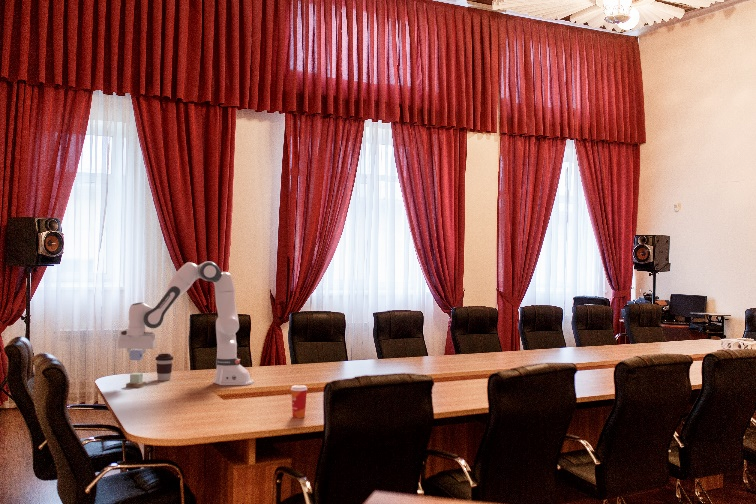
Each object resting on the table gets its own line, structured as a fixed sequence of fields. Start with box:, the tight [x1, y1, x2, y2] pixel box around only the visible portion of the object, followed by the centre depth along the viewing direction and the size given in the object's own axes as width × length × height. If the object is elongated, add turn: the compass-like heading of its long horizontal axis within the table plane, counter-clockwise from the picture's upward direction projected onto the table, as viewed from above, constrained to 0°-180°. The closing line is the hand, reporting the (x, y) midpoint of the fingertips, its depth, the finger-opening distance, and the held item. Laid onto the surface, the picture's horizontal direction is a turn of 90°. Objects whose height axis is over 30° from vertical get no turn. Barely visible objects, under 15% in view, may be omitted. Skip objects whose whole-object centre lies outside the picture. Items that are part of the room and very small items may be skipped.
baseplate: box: [125, 381, 147, 389], centre depth 386 cm, size 8×8×2 cm
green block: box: [129, 372, 143, 384], centre depth 386 cm, size 5×5×5 cm
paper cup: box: [290, 384, 308, 419], centre depth 319 cm, size 8×8×14 cm
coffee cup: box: [155, 353, 174, 382], centre depth 406 cm, size 10×10×15 cm
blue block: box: [129, 349, 144, 361], centre depth 386 cm, size 5×5×5 cm
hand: (136, 356), depth 386 cm, fingers closed on blue block, 5 cm apart
